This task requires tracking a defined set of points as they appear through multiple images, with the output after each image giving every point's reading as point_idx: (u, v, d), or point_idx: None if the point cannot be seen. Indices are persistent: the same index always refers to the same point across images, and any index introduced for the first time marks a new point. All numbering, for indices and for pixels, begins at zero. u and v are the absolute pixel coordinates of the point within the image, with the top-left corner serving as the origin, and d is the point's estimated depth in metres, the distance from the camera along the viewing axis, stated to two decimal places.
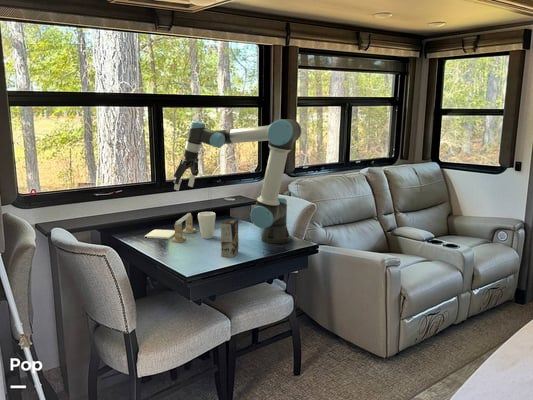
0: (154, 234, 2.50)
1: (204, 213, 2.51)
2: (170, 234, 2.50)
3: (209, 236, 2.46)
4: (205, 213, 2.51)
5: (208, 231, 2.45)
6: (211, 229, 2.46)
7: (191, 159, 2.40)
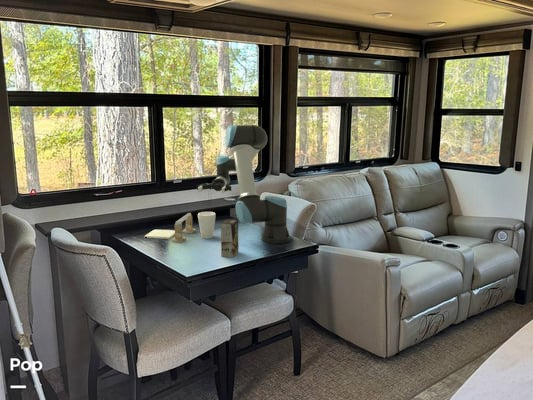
0: (154, 234, 2.50)
1: (204, 213, 2.51)
2: (170, 234, 2.50)
3: (209, 236, 2.46)
4: (205, 213, 2.51)
5: (208, 231, 2.45)
6: (211, 229, 2.46)
7: (216, 183, 2.69)
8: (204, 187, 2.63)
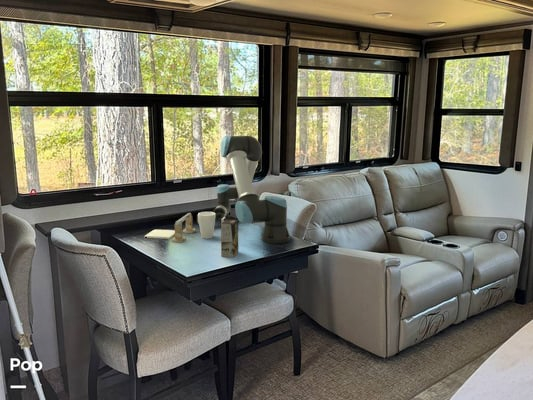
0: (154, 234, 2.50)
1: (204, 213, 2.51)
2: (170, 234, 2.50)
3: (209, 236, 2.46)
4: (205, 213, 2.51)
5: (208, 231, 2.45)
6: (211, 229, 2.46)
7: (216, 212, 2.72)
8: None
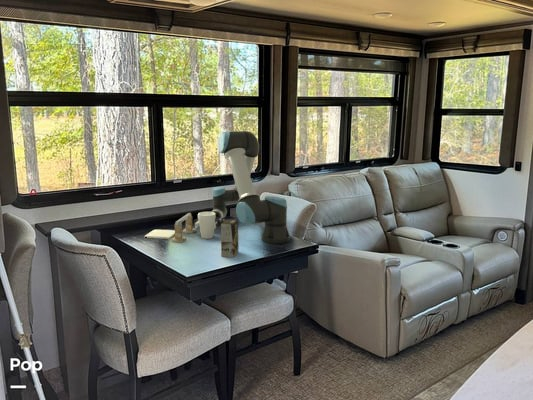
0: (154, 234, 2.50)
1: (204, 213, 2.51)
2: (170, 234, 2.50)
3: (209, 236, 2.46)
4: (205, 213, 2.51)
5: (208, 231, 2.45)
6: (211, 229, 2.46)
7: None
8: None
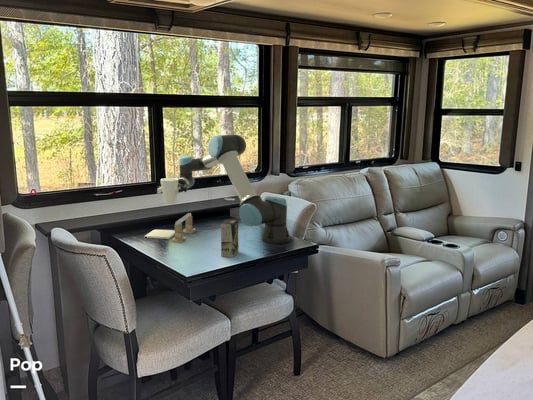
0: (154, 234, 2.50)
1: (167, 179, 2.52)
2: (170, 234, 2.50)
3: (172, 201, 2.48)
4: (168, 179, 2.52)
5: (171, 196, 2.47)
6: (174, 194, 2.47)
7: None
8: None
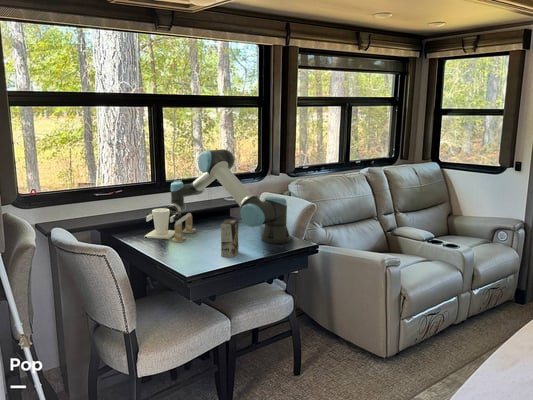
0: (154, 234, 2.50)
1: (159, 209, 2.54)
2: (170, 234, 2.50)
3: (163, 232, 2.50)
4: (160, 209, 2.54)
5: (162, 227, 2.49)
6: (165, 225, 2.50)
7: None
8: None
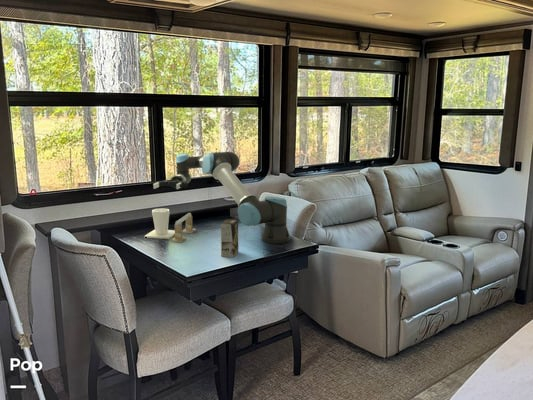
0: (154, 234, 2.50)
1: (159, 209, 2.54)
2: (170, 234, 2.50)
3: (163, 232, 2.50)
4: (160, 209, 2.54)
5: (162, 227, 2.49)
6: (165, 225, 2.50)
7: (174, 180, 2.74)
8: (161, 184, 2.67)
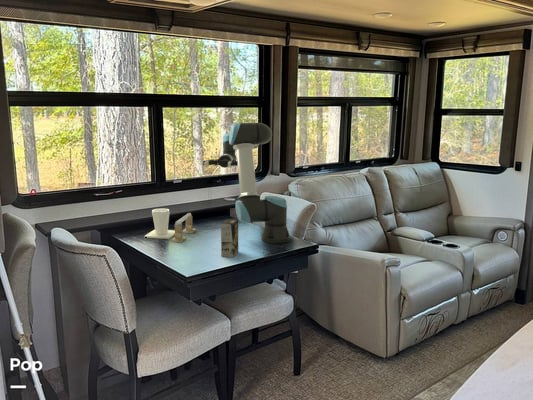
0: (154, 234, 2.50)
1: (159, 209, 2.54)
2: (170, 234, 2.50)
3: (163, 232, 2.50)
4: (160, 209, 2.54)
5: (162, 227, 2.49)
6: (165, 225, 2.50)
7: (223, 159, 2.71)
8: (210, 163, 2.64)
